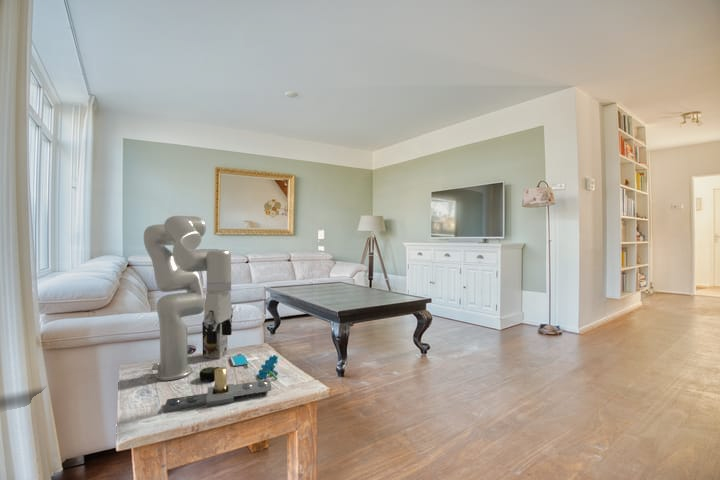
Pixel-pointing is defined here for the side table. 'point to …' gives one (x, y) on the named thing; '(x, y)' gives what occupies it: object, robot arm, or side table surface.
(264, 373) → the gear
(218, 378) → the pin
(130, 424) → the side table surface
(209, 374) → the tape measure
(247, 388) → the gray studded rail
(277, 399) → the side table surface
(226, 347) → the coffee box
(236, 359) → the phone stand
